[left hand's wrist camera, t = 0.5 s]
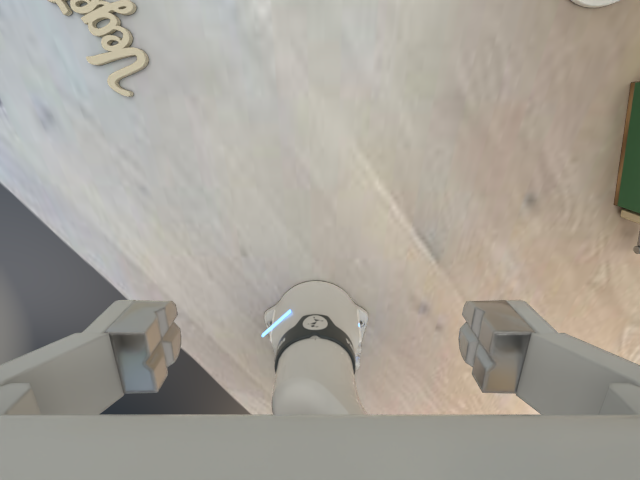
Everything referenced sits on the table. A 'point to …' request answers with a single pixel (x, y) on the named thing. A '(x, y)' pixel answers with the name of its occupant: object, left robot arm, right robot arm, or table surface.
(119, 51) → the decorative sign
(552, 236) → the table surface
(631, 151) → the cabinet
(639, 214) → the drawer
